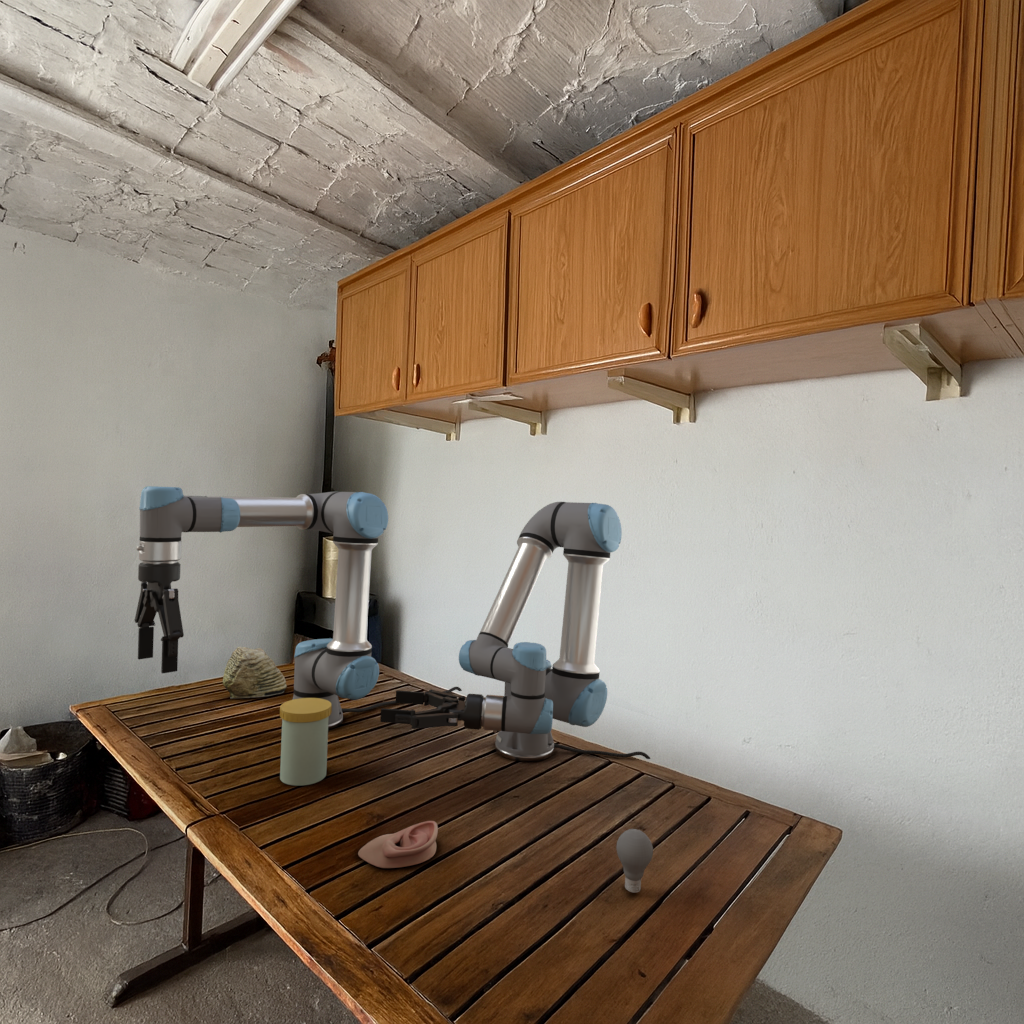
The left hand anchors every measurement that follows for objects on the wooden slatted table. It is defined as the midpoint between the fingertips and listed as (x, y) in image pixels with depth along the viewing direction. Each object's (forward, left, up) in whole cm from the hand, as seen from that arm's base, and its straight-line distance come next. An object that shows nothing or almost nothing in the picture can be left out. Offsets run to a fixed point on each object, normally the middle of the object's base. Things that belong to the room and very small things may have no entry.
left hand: (156, 665), depth 130 cm
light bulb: (-40, +89, -27) cm, 101 cm away
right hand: (-38, +29, -10) cm, 48 cm away
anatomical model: (-21, +52, -27) cm, 62 cm away
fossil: (-49, -47, -27) cm, 73 cm away
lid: (-27, +13, -12) cm, 32 cm away
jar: (-27, +13, -27) cm, 40 cm away
